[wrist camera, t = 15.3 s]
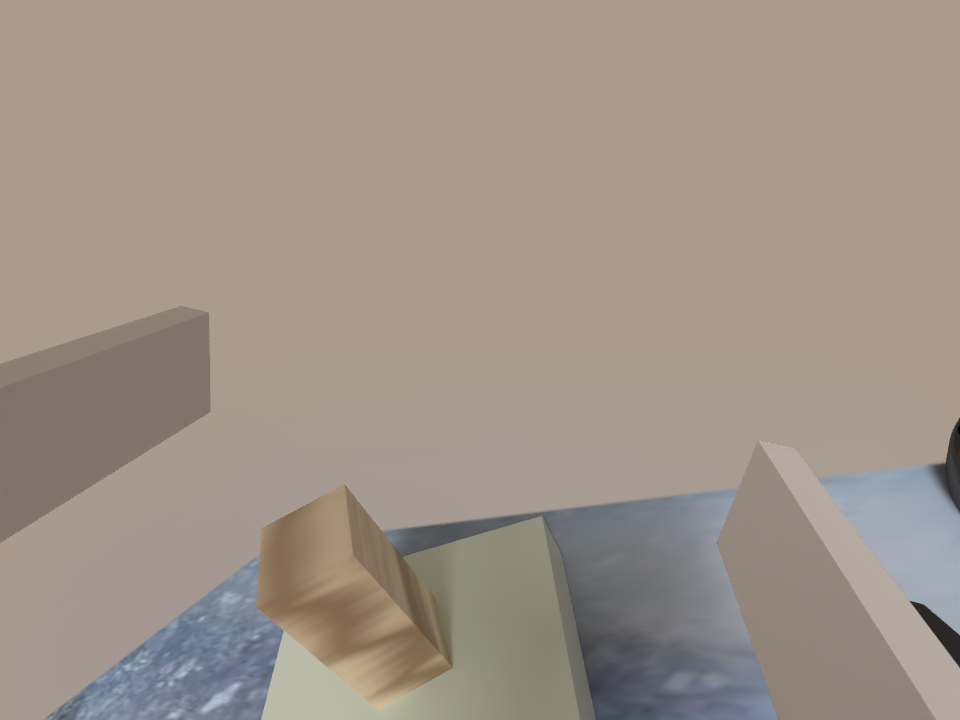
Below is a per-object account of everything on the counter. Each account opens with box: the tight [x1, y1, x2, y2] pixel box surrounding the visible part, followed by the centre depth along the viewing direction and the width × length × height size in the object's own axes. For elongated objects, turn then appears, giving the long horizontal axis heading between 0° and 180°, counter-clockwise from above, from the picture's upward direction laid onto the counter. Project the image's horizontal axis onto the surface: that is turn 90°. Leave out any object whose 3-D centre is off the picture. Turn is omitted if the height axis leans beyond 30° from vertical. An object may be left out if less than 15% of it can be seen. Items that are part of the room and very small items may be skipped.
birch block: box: [256, 485, 453, 710], centre depth 30 cm, size 5×5×12 cm
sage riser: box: [261, 516, 596, 720], centre depth 35 cm, size 20×14×5 cm
